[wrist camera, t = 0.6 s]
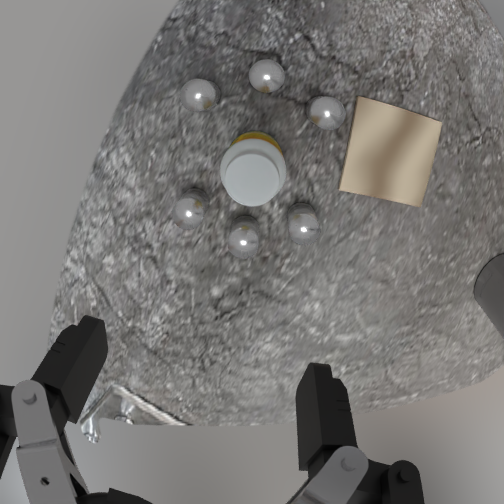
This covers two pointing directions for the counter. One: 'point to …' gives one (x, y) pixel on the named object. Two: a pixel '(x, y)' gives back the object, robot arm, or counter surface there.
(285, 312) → the counter surface
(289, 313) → the counter surface
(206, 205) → the spacer posts
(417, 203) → the pad
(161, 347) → the counter surface
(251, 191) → the supplement bottle
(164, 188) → the counter surface
